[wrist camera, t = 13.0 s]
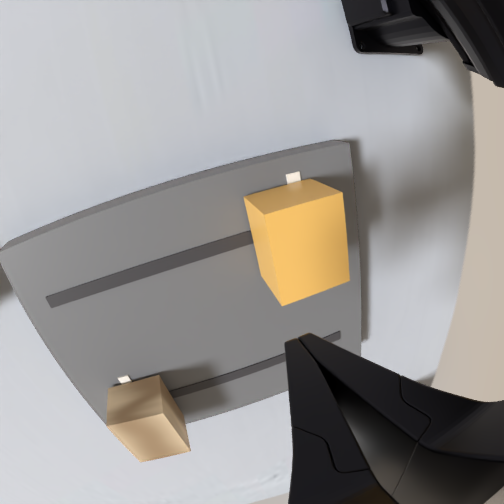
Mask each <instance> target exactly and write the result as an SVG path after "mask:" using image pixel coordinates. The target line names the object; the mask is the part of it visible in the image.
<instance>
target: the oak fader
mask: <svg viewBox="0 0 504 504" xmlns="http://www.w3.org/2000/svg"><path fill="white" fill-rule="evenodd" d="M106 426H107V427H108V429H109V430H110V431H111V432H112V433H113V434H114V435H115V436H116V437H117V438H118V440H119V441H120V442H121V443H122V444H123V445H124V446H125V447H126V448H127V449H128V450H129V451H130V452H131V453H132V454H133V455H134V456H135V457H136V458H137V459H138V460H139V461H140V462H144V461H150V460H154V459H159V458H164V457H168V456H173V455H177V454H181V453H185V452H189V451H191V449H190V445H189V440H188V435H187V430H186V425H185V419H184V415H183V414H182V412H181V410H180V409H179V407H178V406H177V404H176V402H175V401H174V399H173V398H172V396H171V394H170V393H169V391H168V389H167V388H166V386H165V384H164V382H163V381H162V379H161V377H160V376H159V375H156V376H153V377H149V378H146V379H142V380H138V381H134V382H131V383H127V384H123V385H119V386H115V387H111V388H108V399H107V423H106Z"/></svg>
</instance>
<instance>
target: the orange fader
mask: <svg viewBox="0 0 504 504" xmlns="http://www.w3.org/2000/svg"><path fill="white" fill-rule="evenodd" d="M244 202H245V206H246V210H247V215H248V219H249V224H250V228H251V233H252V237H253V242H254V246H255V251H256V255H257V260H258V264H259V268H260V273H261V276H262V278H263V279H264V281H265V282H266V284H267V285H268V287H269V288H270V290H271V291H272V292H273V294H274V295H275V297H276V298H277V300H278V301H279V303H280V304H281V306H285V305H287V304H290V303H293V302H295V301H298V300H301V299H304V298H306V297H309V296H312V295H314V294H317V293H320V292H322V291H325V290H327V289H330V288H333V287H335V286H338V285H340V284H343V283H345V282H348V281H350V276H349V260H348V246H347V233H346V222H345V211H344V202H343V192H341V191H338V190H336V189H334V188H332V187H329V186H327V185H325V184H322V183H320V182H318V181H315V180H313V179H306V180H302V181H299V182H295V183H291V184H287V185H283V186H280V187H276V188H272V189H269V190H265V191H261V192H258V193H254V194H251V195H247V196H244Z"/></svg>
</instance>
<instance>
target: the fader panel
mask: <svg viewBox="0 0 504 504" xmlns="http://www.w3.org/2000/svg"><path fill="white" fill-rule="evenodd" d="M306 179H313V180H315V181H318V182H320V183H322V184H325V185H327V186H329V187H332V188H334V189H336V190H338V191H341V192H343V202H344V211H345V222H346V233H347V246H348V260H349V276H350V281H348V282H345V283H343V284H340V285H338V286H335V287H333V288H330V289H327V290H325V291H322V292H320V293H317V294H314V295H312V296H309V297H306V298H304V299H301V300H298V301H295V302H293V303H290V304H287V305H285V306H281V304H280V303H279V301H278V300H277V298H276V297H275V295H274V294H273V292H272V291H271V290H270V288H269V287H268V285H267V284H266V282H265V281H264V279H263V278H262V276H261V273H260V268H259V264H258V260H257V255H256V251H255V246H254V242H253V237H252V233H251V228H250V224H249V219H248V215H247V210H246V206H245V202H244V196H247V195H251V194H254V193H258V192H261V191H265V190H269V189H272V188H276V187H280V186H283V185H287V184H291V183H295V182H299V181H302V180H306ZM0 263H1V266H2V268H3V270H4V272H5V274H6V276H7V278H8V280H9V282H10V284H11V286H12V288H13V290H14V292H15V294H16V295H17V297H18V299H19V301H20V303H21V305H22V306H23V308H24V310H25V312H26V313H27V315H28V317H29V319H30V320H31V322H32V324H33V325H34V327H35V329H36V330H37V332H38V334H39V335H40V337H41V338H42V340H43V341H44V343H45V345H46V346H47V348H48V349H49V351H50V352H51V354H52V355H53V357H54V358H55V360H56V361H57V363H58V364H59V365H60V367H61V368H62V370H63V371H64V372H65V374H66V375H67V377H68V378H69V379H70V381H71V382H72V383H73V385H74V386H75V387H76V389H77V390H78V391H79V393H80V394H81V395H82V396H83V398H84V399H85V400H86V401H87V403H88V404H89V405H90V406H91V408H92V409H93V410H94V411H95V412H96V414H97V415H98V416H99V417H100V418H101V420H102V421H103V422H104V423H105V424H106V423H107V399H108V388H111V387H115V386H119V385H123V384H127V383H131V382H134V381H138V380H142V379H146V378H149V377H153V376H156V375H159V376H160V377H161V379H162V381H163V382H164V384H165V386H166V388H167V389H168V391H169V393H170V394H171V396H172V398H173V399H174V401H175V402H176V404H177V406H178V407H179V409H180V410H181V412H182V414H183V415H184V419H185V424H187V423H191V422H195V421H198V420H202V419H205V418H208V417H212V416H215V415H218V414H222V413H225V412H228V411H231V410H234V409H237V408H240V407H243V406H246V405H249V404H252V403H255V402H258V401H261V400H263V399H266V398H269V397H272V396H274V395H277V394H280V393H282V392H285V391H287V390H288V380H287V368H286V358H285V347H284V343H285V342H286V341H288V340H291V339H293V338H298V337H299V336H301V335H304V334H306V333H312V334H314V335H316V336H319V337H321V338H323V339H325V340H327V341H329V342H331V343H333V344H335V345H337V346H339V347H341V348H343V349H346V350H348V351H350V352H352V353H354V354H356V355H358V356H360V357H361V273H360V251H359V234H358V220H357V207H356V196H355V186H354V176H353V168H352V159H351V151H350V144H349V143H347V142H342V141H336V140H330V141H325V142H320V143H315V144H311V145H306V146H301V147H297V148H292V149H288V150H283V151H279V152H275V153H270V154H266V155H262V156H258V157H254V158H250V159H246V160H242V161H238V162H234V163H231V164H227V165H223V166H220V167H216V168H212V169H209V170H205V171H202V172H198V173H195V174H191V175H188V176H185V177H181V178H178V179H175V180H171V181H168V182H165V183H162V184H159V185H155V186H152V187H149V188H146V189H143V190H140V191H137V192H134V193H131V194H128V195H125V196H122V197H119V198H117V199H114V200H111V201H108V202H105V203H102V204H100V205H97V206H94V207H92V208H89V209H86V210H84V211H81V212H78V213H76V214H73V215H70V216H68V217H65V218H63V219H60V220H58V221H55V222H53V223H50V224H48V225H46V226H43V227H41V228H38V229H36V230H34V231H31V232H29V233H27V234H24V235H22V236H20V237H17V238H15V239H13V240H11V241H8V242H7V243H6V244H5V245H4V246H3V247H2V248H1V249H0Z"/></svg>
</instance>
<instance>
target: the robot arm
mask: <svg viewBox="0 0 504 504" xmlns="http://www.w3.org/2000/svg"><path fill="white" fill-rule="evenodd" d="M341 1H342V5H343V9H344V12H345V16H346V20H347V23H348V26H349V31H350V35H351V39H352V44H353V48H354V50H355V51H356V52H358V53H390V54H413V55H419V54H422V53H423V47H422V44H426V43H434V42H444V41H451V43H452V44H453V46H454V47H455V49H456V50H457V52H458V53H459V55H460V56H461V58H462V60H463V64H464V65H465V67H466V68H467V70H470V71H473V72H475V73H478V74H480V75H482V76H483V77H485V78H487V79H489V80H491V81H493V83H494V84H495V86H497V87H502V88H504V0H341ZM359 44H361V45H362V49H361V48H360V46H359ZM416 47H417V49H416ZM284 347H285V358H286V368H287V380H288V391H289V402H290V414H291V426H292V443H293V460H292V474H291V483H290V491H289V500H288V504H504V400H502V401H497V402H482V401H477V400H473V399H469V398H465V397H462V396H458V395H454V394H451V393H447V392H444V391H441V390H438V389H435V388H432V387H429V386H426V385H423V384H421V383H418V382H416V381H414V380H411V379H409V378H407V377H404V376H400V375H399V374H397V373H395V372H393V371H391V370H389V369H386V368H384V367H382V366H380V365H378V364H375V363H373V362H371V361H369V360H367V359H365V358H363V357H360V356H358V355H356V354H354V353H352V352H350V351H348V350H346V349H343V348H341V347H339V346H337V345H335V344H333V343H331V342H329V341H327V340H325V339H323V338H321V337H319V336H316V335H314V334H312V333H306V334H304V335H301V336H299V337H298V338H293V339H291V340H288V341H286V342H285V343H284Z"/></svg>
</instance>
